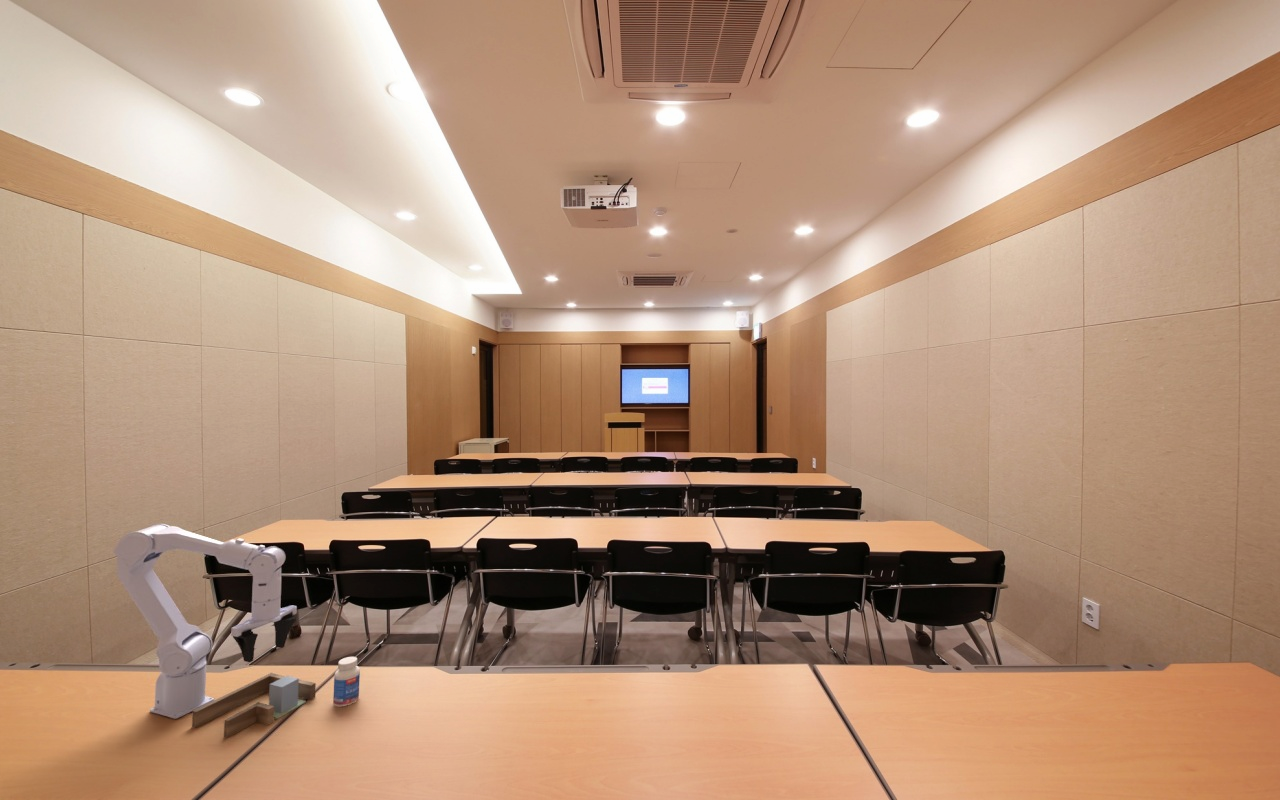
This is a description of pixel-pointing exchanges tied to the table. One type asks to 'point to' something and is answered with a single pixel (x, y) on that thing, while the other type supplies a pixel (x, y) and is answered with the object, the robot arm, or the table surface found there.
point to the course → (252, 713)
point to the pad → (278, 715)
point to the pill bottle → (346, 682)
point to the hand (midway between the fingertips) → (264, 653)
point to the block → (284, 694)
